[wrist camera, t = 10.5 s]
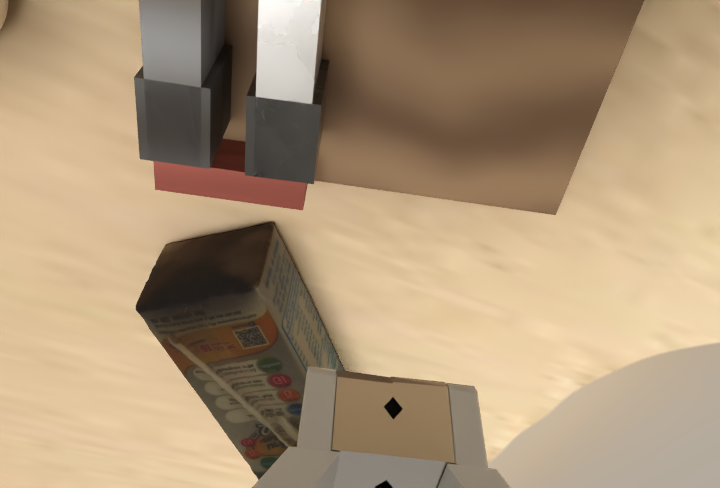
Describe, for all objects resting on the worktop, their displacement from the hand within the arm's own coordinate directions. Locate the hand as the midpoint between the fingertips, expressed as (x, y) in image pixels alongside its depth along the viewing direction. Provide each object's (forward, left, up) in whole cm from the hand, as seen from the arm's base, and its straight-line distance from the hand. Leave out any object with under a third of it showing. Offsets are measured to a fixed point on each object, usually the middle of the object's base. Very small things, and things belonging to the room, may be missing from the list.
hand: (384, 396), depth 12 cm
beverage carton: (+24, -4, -25) cm, 35 cm away
